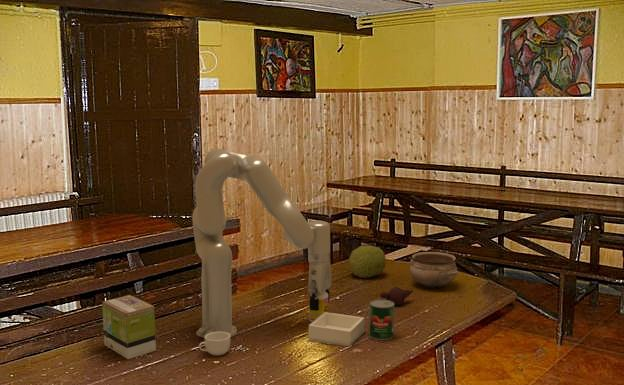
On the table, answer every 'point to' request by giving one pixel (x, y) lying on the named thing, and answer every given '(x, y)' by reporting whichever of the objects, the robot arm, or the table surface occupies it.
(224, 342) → the teacup
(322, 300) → the supplement bottle
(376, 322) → the canned tomato
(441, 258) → the cooking pot
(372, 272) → the fruit
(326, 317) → the tub
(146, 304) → the tea box
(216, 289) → the robot arm
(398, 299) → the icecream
